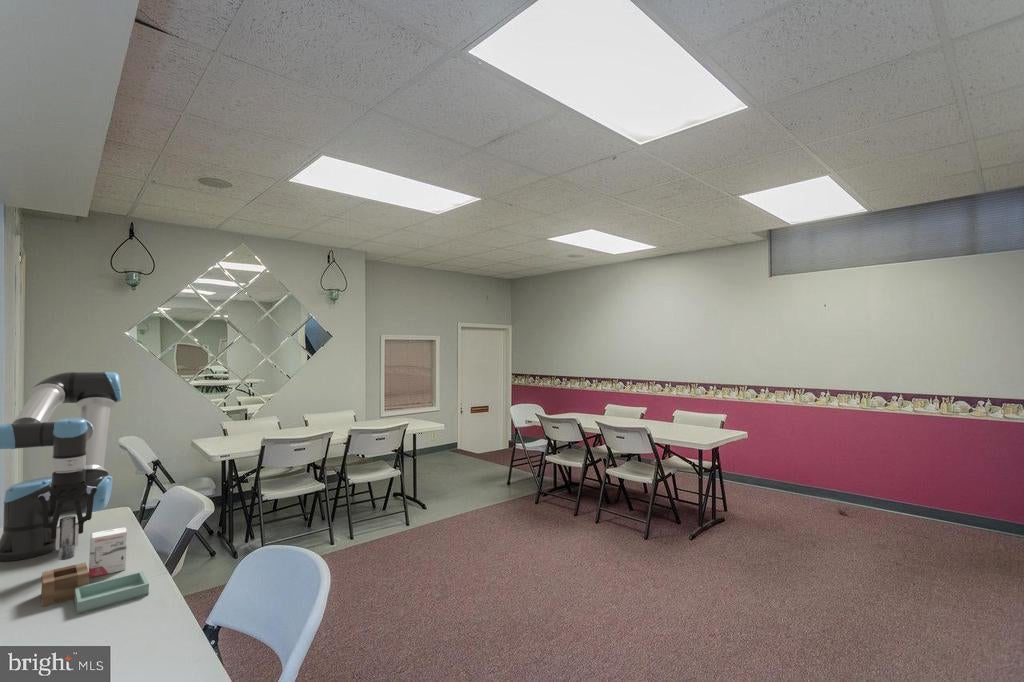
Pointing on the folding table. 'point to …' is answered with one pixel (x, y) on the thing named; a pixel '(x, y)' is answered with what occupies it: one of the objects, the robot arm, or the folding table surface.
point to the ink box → (107, 552)
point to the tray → (110, 592)
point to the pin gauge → (67, 538)
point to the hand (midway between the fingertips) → (66, 546)
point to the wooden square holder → (63, 583)
